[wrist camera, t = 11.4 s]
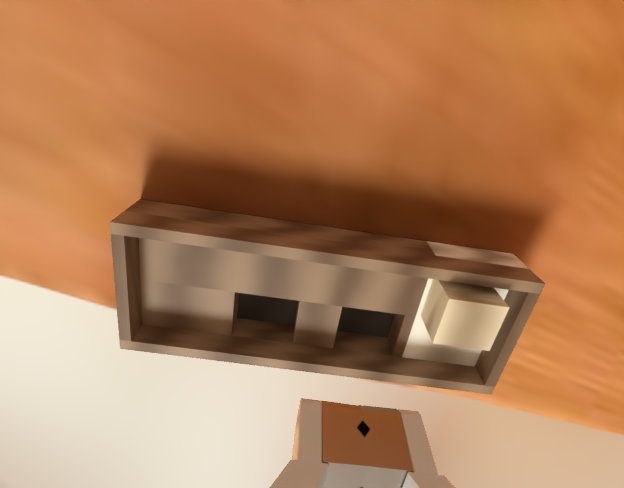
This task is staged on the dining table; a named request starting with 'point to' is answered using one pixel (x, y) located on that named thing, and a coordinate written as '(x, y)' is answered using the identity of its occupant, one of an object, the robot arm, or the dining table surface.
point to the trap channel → (304, 296)
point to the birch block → (463, 314)
